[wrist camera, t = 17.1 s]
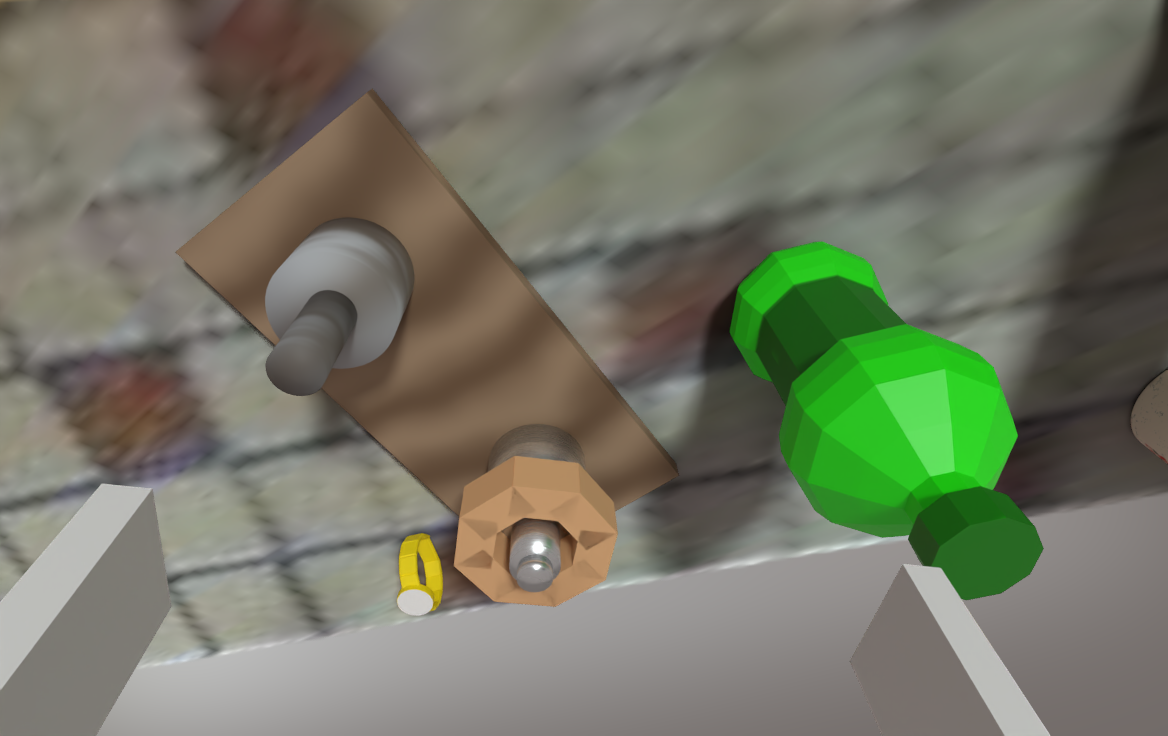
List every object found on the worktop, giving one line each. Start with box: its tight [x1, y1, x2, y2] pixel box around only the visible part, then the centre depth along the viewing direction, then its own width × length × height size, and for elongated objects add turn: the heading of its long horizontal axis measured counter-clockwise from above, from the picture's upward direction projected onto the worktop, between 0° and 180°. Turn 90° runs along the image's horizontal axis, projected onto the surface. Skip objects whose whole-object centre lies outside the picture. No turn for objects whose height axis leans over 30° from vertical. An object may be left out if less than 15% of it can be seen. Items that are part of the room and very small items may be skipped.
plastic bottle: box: [730, 242, 1043, 600], centre depth 38 cm, size 10×10×25 cm
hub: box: [488, 424, 586, 592], centre depth 48 cm, size 7×7×12 cm
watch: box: [397, 533, 443, 615], centre depth 56 cm, size 6×3×6 cm, turn 13°
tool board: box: [176, 89, 679, 517], centre depth 44 cm, size 34×16×14 cm, turn 35°
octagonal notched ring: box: [454, 456, 618, 607], centre depth 46 cm, size 10×10×3 cm
